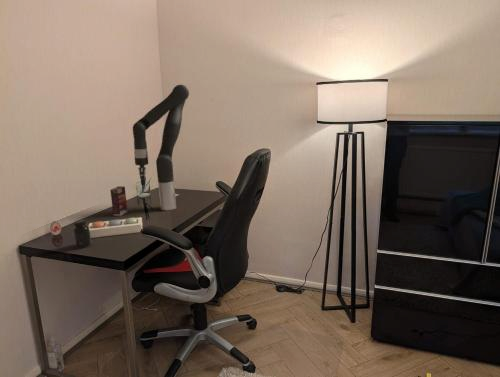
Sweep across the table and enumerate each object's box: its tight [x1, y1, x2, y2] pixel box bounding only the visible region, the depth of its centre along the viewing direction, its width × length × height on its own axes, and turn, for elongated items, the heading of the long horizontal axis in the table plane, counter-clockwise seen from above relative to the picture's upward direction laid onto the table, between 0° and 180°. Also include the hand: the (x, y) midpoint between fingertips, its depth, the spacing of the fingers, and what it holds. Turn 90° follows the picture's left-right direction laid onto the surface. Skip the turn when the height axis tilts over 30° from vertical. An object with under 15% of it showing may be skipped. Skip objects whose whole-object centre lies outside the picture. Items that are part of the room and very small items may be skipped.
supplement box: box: [110, 185, 129, 217], centre depth 210 cm, size 9×5×16 cm, turn 168°
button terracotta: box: [91, 220, 105, 228], centre depth 180 cm, size 6×6×3 cm
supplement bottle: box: [72, 219, 92, 249], centre depth 164 cm, size 7×7×12 cm
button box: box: [87, 217, 143, 239], centre depth 182 cm, size 26×12×4 cm, turn 105°
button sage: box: [125, 217, 138, 225], centre depth 184 cm, size 6×6×3 cm
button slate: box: [108, 219, 121, 227], centre depth 182 cm, size 6×6×3 cm
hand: (143, 183), depth 211 cm, fingers open, 8 cm apart
